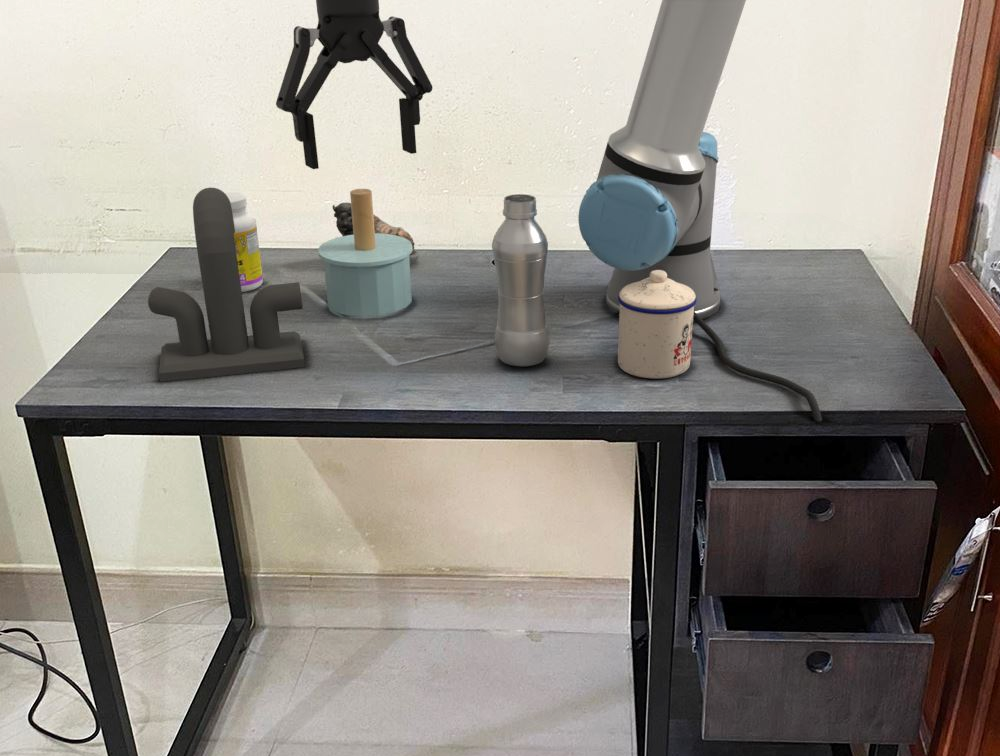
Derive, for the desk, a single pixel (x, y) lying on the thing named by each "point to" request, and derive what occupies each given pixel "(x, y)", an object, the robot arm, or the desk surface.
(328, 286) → the bowl
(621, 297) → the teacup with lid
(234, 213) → the supplement bottle
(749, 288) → the desk surface
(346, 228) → the brown striped lumpy figure
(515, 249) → the silver metal bottle
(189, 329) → the faucet
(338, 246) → the lid
